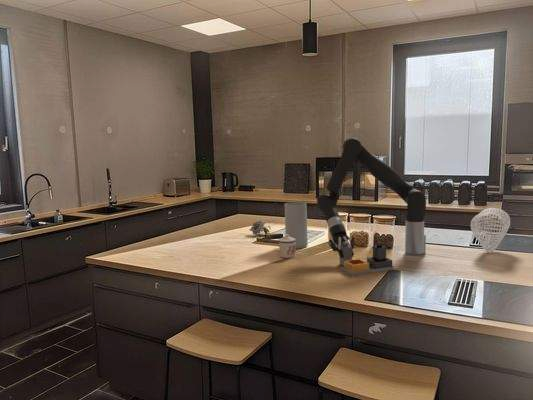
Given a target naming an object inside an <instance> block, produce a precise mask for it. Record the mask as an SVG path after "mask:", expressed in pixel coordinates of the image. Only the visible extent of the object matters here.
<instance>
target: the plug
mask: <svg viewBox="0 0 533 400" xmlns="http://www.w3.org/2000/svg"><path fill="white" fill-rule="evenodd" d="M348 242H349V241H348ZM348 242H343V245H341V246H340V247H341V250H342V252H343V255H344V257H343V258H342V259H341V258H340V257H339V264H340V265H341V266H342V267H344V260H352V259H353V257H352V250H353V249H352V247H351V246H349V245H348Z"/></svg>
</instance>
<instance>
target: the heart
mask: <svg viewBox="0 0 533 400" xmlns="http://www.w3.org/2000/svg"><path fill="white" fill-rule="evenodd" d="M510 226H511V217H510V215H509V214H508V212H506V211H505V210H503V209H501V208H498V207H489V208H486V209H485V208H484V209H482V210H481V211H480V212H479V213H478V214H475V216H474V217H472V219H471V221H470V229H471V232H472V235H473V236H474V238H475V239H476V240H477V241H478V243H479V244H480V245H481V247H482V249H484V251H485V252H486V253H487V254H491V253H493V252H494V251H495V250H496V249H497V248H498V246H499V245H500V243H501V242H502V240H503V239H504V237H505V236H506V234H507V232H508V230H509V229H510Z"/></svg>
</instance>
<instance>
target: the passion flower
mask: <svg viewBox="0 0 533 400" xmlns="http://www.w3.org/2000/svg"><path fill="white" fill-rule="evenodd" d="M265 225H266V222H263V223H262V220H261V219H259V220H258V221H255V222H253V223H252V226H251V227H250V229H249V230H248V231H249V232H252V235H254V237H256V236H257V235H258V236H259V235H260V234H261V233H262V234H264V235H265V234H270V229H271V226H270V225H267V226H265ZM267 227H268V228H269V229H268V228H267Z"/></svg>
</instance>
